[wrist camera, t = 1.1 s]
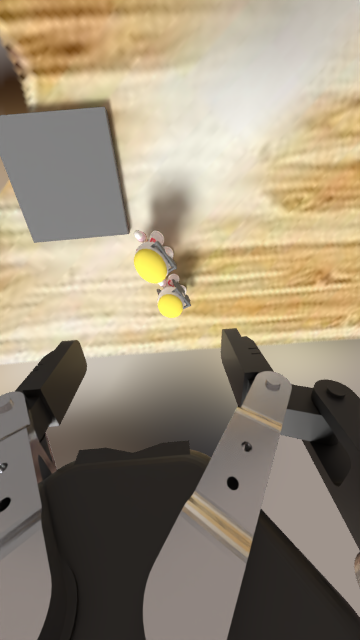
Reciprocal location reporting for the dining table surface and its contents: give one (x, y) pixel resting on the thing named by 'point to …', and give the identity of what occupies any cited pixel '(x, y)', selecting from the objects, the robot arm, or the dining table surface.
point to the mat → (64, 173)
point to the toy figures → (160, 273)
